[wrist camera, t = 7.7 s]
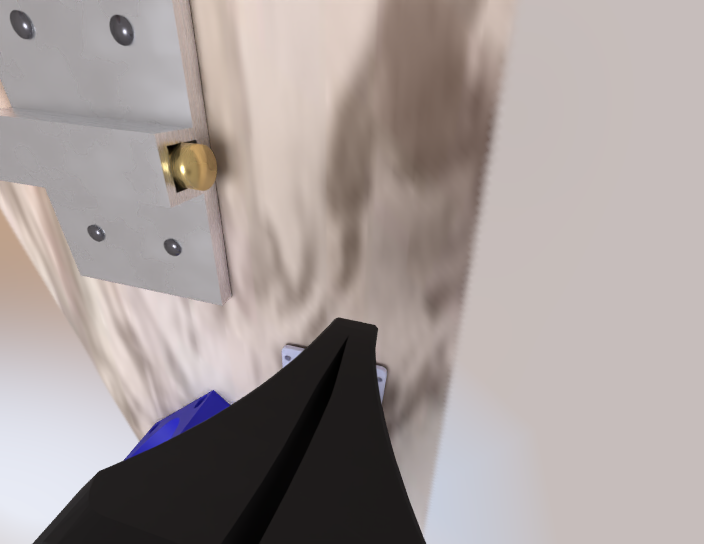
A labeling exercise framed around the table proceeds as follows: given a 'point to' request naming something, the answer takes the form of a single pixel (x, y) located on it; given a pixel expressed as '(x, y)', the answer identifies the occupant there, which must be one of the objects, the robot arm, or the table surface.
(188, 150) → the brass headed pin
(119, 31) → the steel hinge
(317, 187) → the table surface
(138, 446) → the blue u-shaped cradle block
